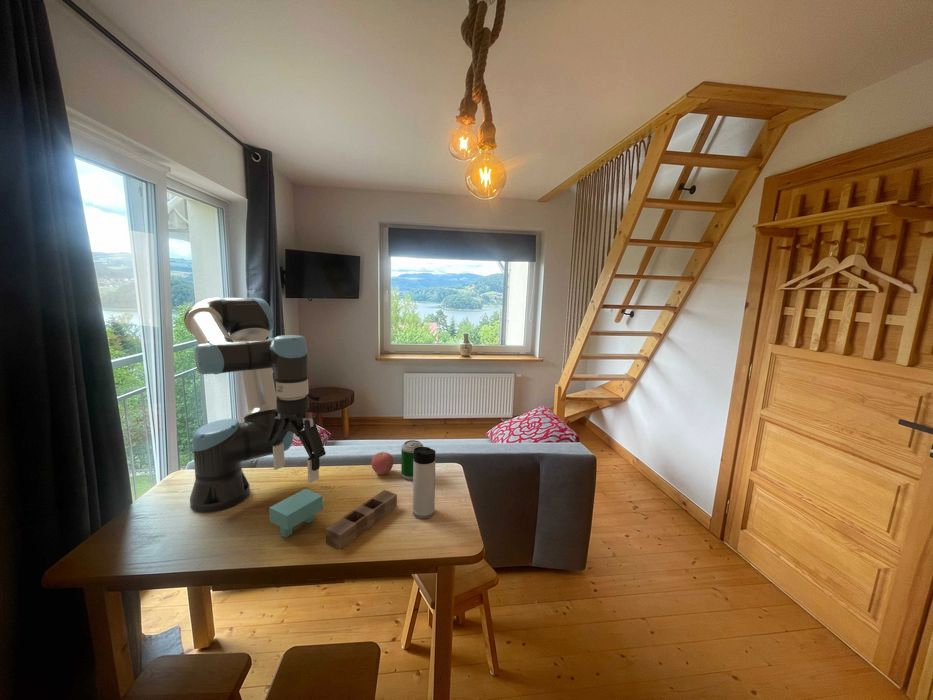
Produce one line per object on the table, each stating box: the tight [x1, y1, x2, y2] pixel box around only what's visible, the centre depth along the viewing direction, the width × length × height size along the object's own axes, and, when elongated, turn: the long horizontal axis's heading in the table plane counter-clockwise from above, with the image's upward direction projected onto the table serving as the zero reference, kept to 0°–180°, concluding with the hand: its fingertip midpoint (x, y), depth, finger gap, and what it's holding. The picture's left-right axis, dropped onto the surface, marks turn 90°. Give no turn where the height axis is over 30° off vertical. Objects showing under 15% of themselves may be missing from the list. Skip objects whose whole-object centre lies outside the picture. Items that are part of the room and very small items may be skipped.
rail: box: [325, 489, 398, 551], centre depth 104 cm, size 5×22×4 cm, turn 151°
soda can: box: [400, 439, 425, 481], centre depth 130 cm, size 8×8×12 cm
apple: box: [371, 451, 395, 476], centre depth 132 cm, size 7×7×8 cm
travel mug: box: [412, 446, 436, 520], centre depth 108 cm, size 6×7×20 cm
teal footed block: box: [269, 488, 324, 538], centre depth 101 cm, size 7×11×8 cm, turn 151°
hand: (295, 474), depth 99 cm, fingers open, 13 cm apart
